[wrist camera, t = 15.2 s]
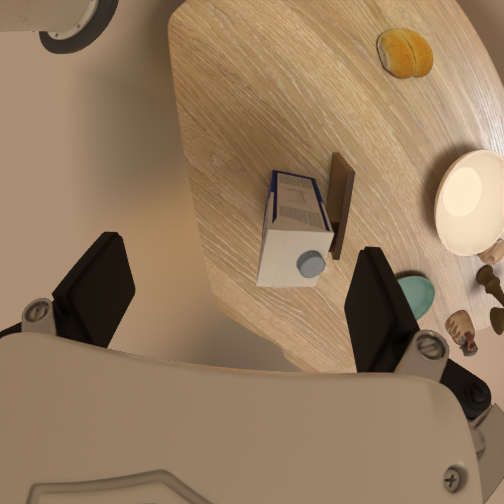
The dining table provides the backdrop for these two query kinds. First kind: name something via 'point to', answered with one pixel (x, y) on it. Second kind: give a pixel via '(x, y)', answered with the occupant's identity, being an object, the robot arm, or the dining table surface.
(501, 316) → the kendama
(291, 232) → the milk carton
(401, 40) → the bread roll
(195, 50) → the dining table surface
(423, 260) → the dining table surface
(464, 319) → the figurine
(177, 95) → the dining table surface
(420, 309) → the saucer
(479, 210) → the bowl
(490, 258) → the garlic bulb
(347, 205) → the shelf
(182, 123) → the dining table surface
